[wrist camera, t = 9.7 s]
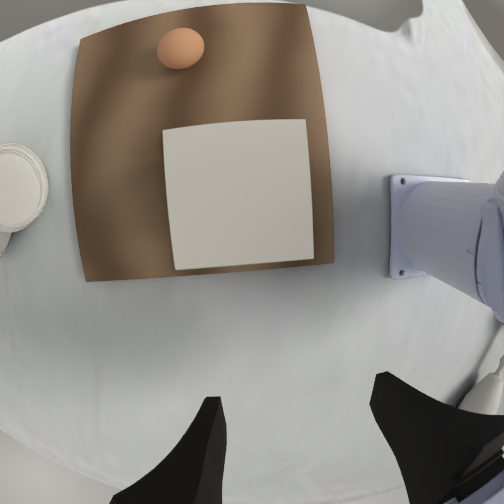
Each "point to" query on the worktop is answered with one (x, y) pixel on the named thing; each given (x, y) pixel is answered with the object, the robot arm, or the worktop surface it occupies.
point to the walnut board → (184, 125)
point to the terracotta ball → (180, 48)
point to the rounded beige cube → (239, 192)
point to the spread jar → (20, 190)
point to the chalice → (485, 393)
